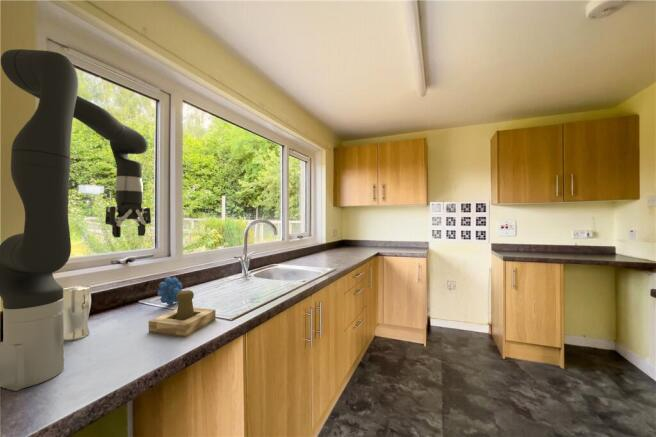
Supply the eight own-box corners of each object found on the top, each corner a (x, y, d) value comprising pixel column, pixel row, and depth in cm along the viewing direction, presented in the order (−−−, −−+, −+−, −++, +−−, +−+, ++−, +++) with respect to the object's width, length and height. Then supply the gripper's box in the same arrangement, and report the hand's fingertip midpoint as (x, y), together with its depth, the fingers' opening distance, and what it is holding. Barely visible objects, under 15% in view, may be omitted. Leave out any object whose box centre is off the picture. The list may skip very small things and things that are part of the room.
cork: (187, 327, 85) (186, 294, 85) (170, 326, 86) (170, 293, 86) (199, 320, 91) (198, 289, 91) (183, 319, 92) (183, 288, 92)
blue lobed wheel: (166, 310, 102) (166, 280, 102) (153, 309, 104) (153, 279, 104) (190, 301, 114) (189, 274, 114) (177, 300, 116) (177, 273, 115)
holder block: (184, 337, 80) (184, 325, 80) (148, 332, 83) (148, 321, 83) (215, 319, 93) (215, 309, 93) (183, 316, 97) (183, 306, 97)
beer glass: (61, 336, 81) (61, 287, 81) (91, 329, 85) (91, 284, 85) (58, 344, 75) (57, 292, 75) (90, 337, 80) (90, 288, 80)
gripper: (116, 188, 83) (116, 238, 84) (156, 192, 97) (156, 235, 97) (99, 188, 85) (99, 238, 85) (140, 192, 99) (140, 235, 99)
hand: (129, 236), depth 91 cm, fingers open, 8 cm apart
